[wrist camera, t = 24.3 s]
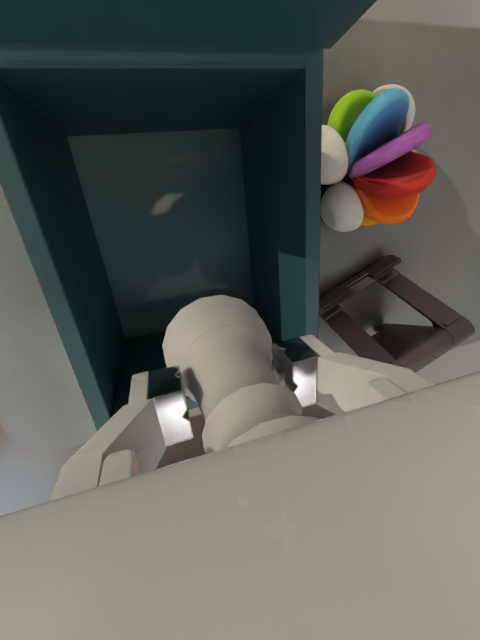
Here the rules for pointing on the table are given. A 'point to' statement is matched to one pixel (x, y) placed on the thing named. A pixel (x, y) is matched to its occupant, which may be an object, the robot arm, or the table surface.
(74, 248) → the teal hinged box
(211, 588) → the robot arm
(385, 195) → the multicoloured rounded lobed piece
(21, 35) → the lid
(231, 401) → the rook chess piece
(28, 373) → the table surface
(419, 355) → the tablet stand
